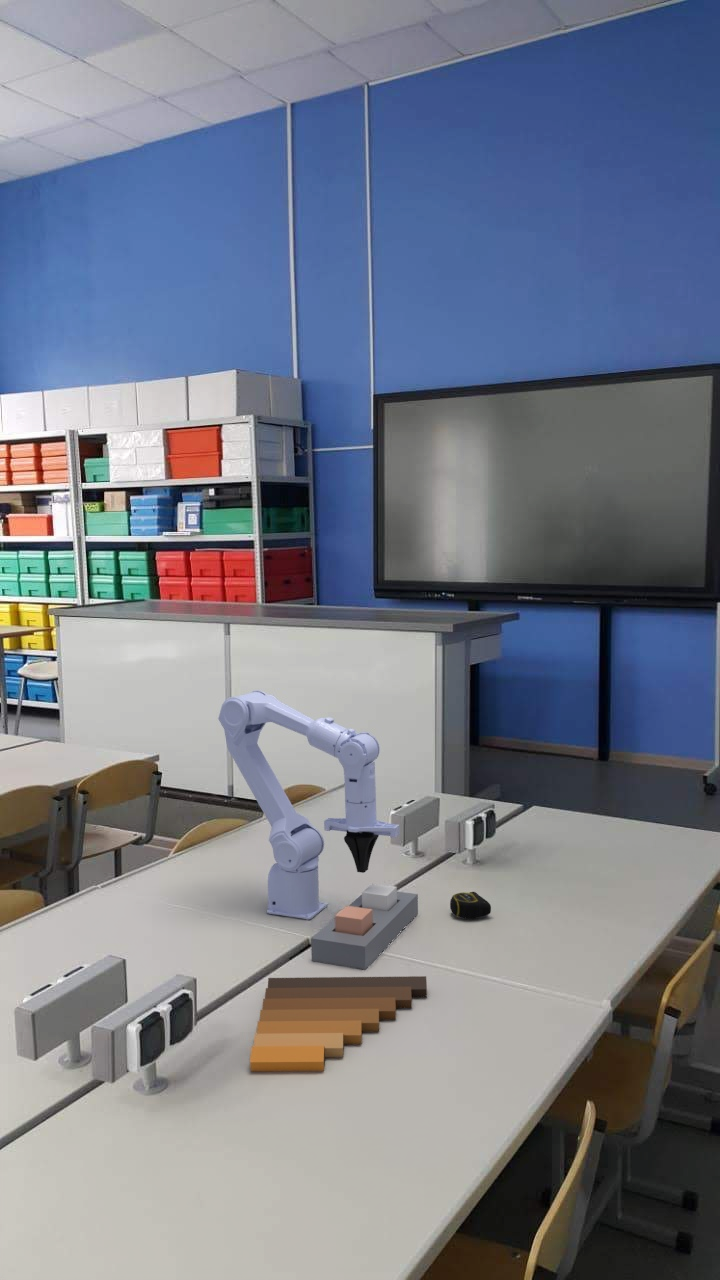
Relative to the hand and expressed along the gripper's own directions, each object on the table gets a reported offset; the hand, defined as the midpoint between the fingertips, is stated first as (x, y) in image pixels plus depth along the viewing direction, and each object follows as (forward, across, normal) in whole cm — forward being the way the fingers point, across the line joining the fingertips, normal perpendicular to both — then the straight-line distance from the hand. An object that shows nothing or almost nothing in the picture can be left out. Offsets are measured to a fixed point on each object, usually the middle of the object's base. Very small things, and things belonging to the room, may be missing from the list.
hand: (362, 870), depth 188 cm
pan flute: (+11, +14, -38) cm, 42 cm away
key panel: (+10, +3, -6) cm, 12 cm away
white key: (+8, +3, 0) cm, 8 cm away
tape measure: (+10, +17, +11) cm, 23 cm away
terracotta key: (+8, +4, -12) cm, 15 cm away
